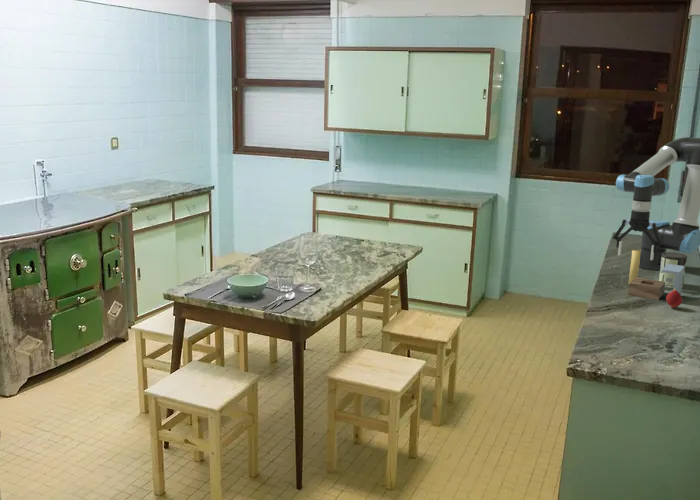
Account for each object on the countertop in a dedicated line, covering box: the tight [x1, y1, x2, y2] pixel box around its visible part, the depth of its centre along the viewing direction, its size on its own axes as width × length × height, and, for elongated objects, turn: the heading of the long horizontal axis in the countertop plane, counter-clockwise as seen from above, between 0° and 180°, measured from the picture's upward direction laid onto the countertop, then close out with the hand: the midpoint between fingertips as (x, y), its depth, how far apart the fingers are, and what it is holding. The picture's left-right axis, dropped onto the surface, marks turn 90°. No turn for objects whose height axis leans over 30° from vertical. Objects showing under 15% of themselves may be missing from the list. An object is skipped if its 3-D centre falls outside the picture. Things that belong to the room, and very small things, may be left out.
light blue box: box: [662, 264, 685, 295], centre depth 277 cm, size 12×7×13 cm, turn 145°
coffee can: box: [658, 251, 688, 289], centre depth 295 cm, size 10×10×14 cm
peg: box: [628, 249, 641, 286], centre depth 295 cm, size 4×4×16 cm
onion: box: [665, 288, 683, 309], centre depth 264 cm, size 6×6×8 cm
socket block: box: [627, 277, 666, 301], centre depth 283 cm, size 12×12×5 cm
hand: (635, 257), depth 293 cm, fingers open, 13 cm apart
